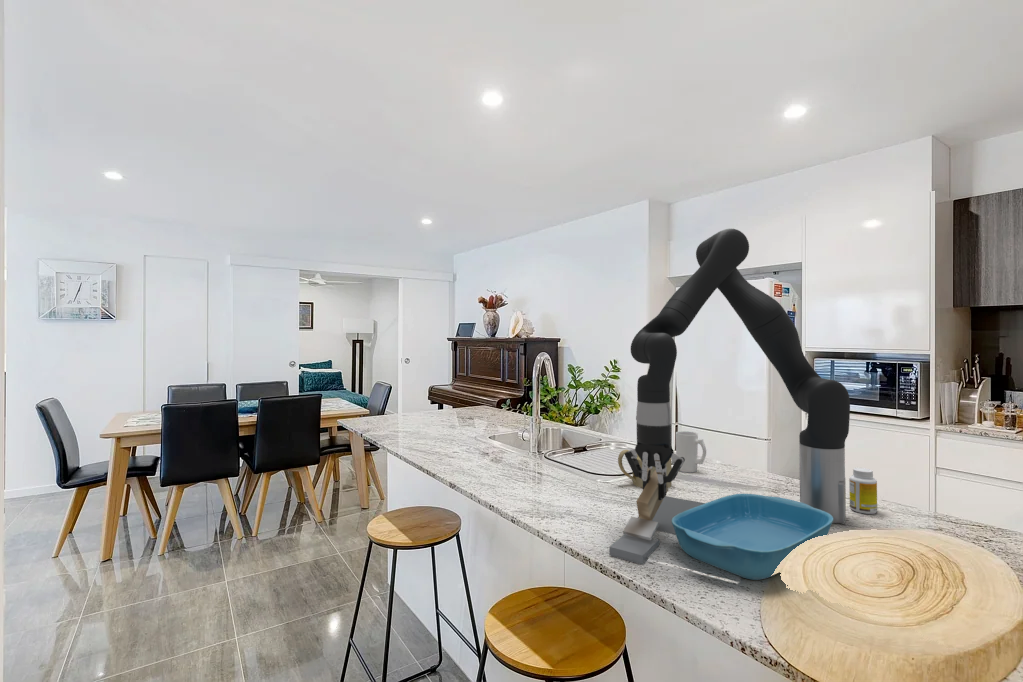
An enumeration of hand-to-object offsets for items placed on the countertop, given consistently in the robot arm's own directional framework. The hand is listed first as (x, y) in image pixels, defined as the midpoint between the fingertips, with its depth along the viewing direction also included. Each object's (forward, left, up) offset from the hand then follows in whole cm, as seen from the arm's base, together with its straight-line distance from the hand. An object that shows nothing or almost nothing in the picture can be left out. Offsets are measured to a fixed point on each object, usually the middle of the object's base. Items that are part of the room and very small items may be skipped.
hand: (654, 497), depth 111 cm
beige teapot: (+13, -31, -8) cm, 34 cm away
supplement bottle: (-38, -41, -8) cm, 56 cm away
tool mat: (0, -12, -8) cm, 14 cm away
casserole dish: (-20, -2, -8) cm, 21 cm away
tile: (0, +8, -7) cm, 10 cm away
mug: (+7, -54, -8) cm, 55 cm away
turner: (0, +3, -2) cm, 4 cm away
